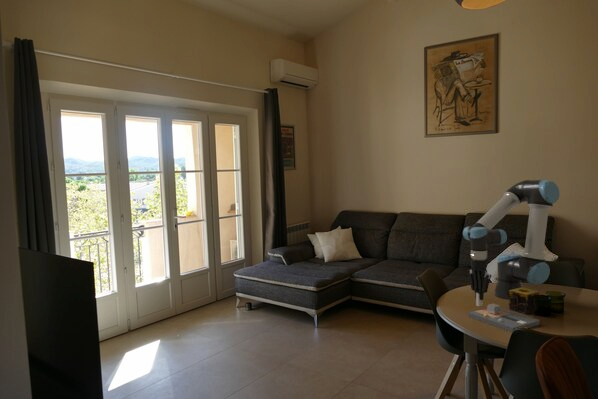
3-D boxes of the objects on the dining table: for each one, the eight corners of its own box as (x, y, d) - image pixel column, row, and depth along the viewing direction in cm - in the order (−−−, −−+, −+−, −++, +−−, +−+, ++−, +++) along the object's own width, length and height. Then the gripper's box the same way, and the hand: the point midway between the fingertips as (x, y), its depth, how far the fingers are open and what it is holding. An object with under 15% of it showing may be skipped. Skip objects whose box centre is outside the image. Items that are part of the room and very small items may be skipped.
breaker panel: (468, 316, 205) (468, 310, 205) (494, 310, 213) (494, 303, 213) (512, 332, 184) (512, 325, 184) (539, 324, 192) (539, 317, 191)
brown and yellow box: (527, 315, 205) (527, 294, 204) (508, 309, 214) (508, 290, 213) (540, 311, 209) (540, 291, 209) (521, 306, 218) (521, 286, 218)
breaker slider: (487, 311, 204) (487, 304, 204) (493, 310, 205) (493, 303, 205) (494, 314, 200) (494, 306, 200) (500, 312, 202) (500, 305, 202)
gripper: (463, 257, 213) (463, 303, 215) (484, 261, 201) (484, 310, 203) (473, 255, 216) (474, 301, 218) (495, 260, 205) (495, 307, 206)
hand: (479, 305), depth 210 cm, fingers closed
